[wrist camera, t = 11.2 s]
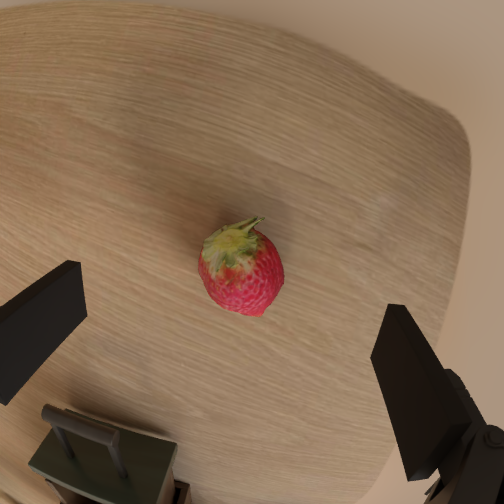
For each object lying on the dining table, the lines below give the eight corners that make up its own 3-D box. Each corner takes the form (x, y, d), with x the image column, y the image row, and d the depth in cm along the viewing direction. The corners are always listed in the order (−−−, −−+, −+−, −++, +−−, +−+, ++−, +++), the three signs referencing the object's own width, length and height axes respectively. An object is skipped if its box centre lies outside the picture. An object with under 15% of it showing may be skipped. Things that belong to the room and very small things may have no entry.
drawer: (49, 359, 22) (-2, 417, 15) (172, 395, 22) (138, 479, 14) (96, 476, 29) (73, 521, 22) (184, 502, 28) (169, 555, 21)
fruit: (219, 309, 20) (200, 359, 15) (201, 214, 18) (171, 241, 13) (289, 304, 19) (289, 355, 14) (277, 204, 17) (275, 229, 13)
